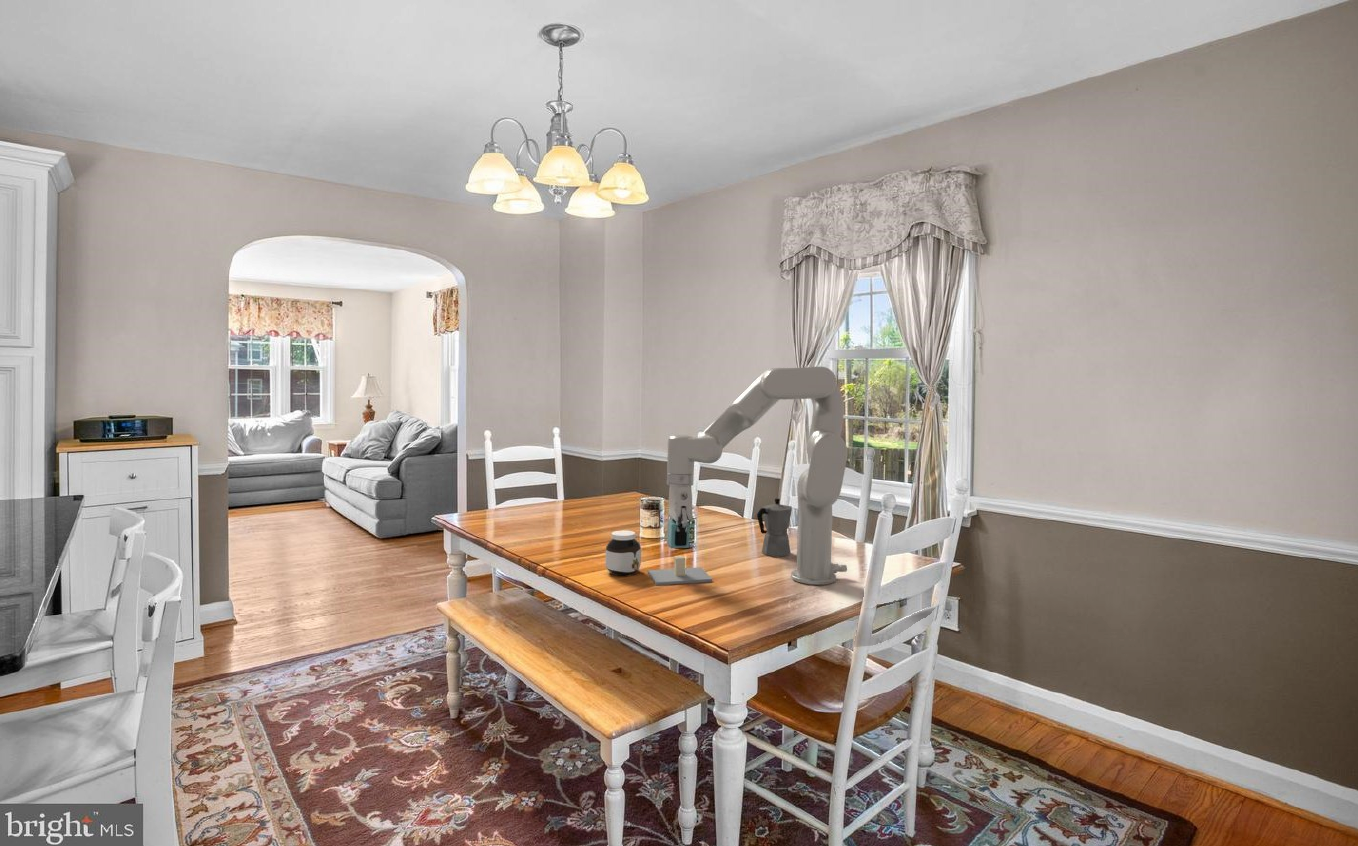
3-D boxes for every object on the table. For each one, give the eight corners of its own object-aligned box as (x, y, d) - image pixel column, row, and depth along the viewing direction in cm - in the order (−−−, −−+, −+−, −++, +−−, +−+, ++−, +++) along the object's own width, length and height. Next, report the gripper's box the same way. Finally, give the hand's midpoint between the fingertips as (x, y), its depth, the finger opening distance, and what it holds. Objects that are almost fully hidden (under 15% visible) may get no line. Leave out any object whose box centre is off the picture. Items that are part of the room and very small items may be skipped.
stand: (700, 569, 207) (701, 550, 207) (712, 581, 196) (712, 561, 195) (647, 572, 203) (647, 553, 203) (656, 585, 192) (656, 564, 191)
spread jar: (619, 578, 197) (619, 538, 197) (593, 570, 205) (593, 531, 204) (649, 570, 206) (650, 531, 205) (623, 563, 214) (623, 525, 213)
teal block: (684, 542, 202) (685, 520, 201) (689, 547, 197) (689, 524, 196) (666, 543, 201) (667, 520, 200) (670, 547, 196) (671, 524, 195)
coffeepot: (779, 547, 235) (780, 494, 234) (800, 553, 228) (802, 498, 226) (746, 554, 225) (747, 499, 224) (767, 561, 218) (769, 503, 217)
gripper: (701, 484, 190) (698, 550, 191) (685, 474, 207) (683, 535, 208) (674, 484, 188) (672, 550, 190) (660, 474, 205) (658, 536, 206)
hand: (678, 542), depth 199 cm, fingers closed on teal block, 5 cm apart
